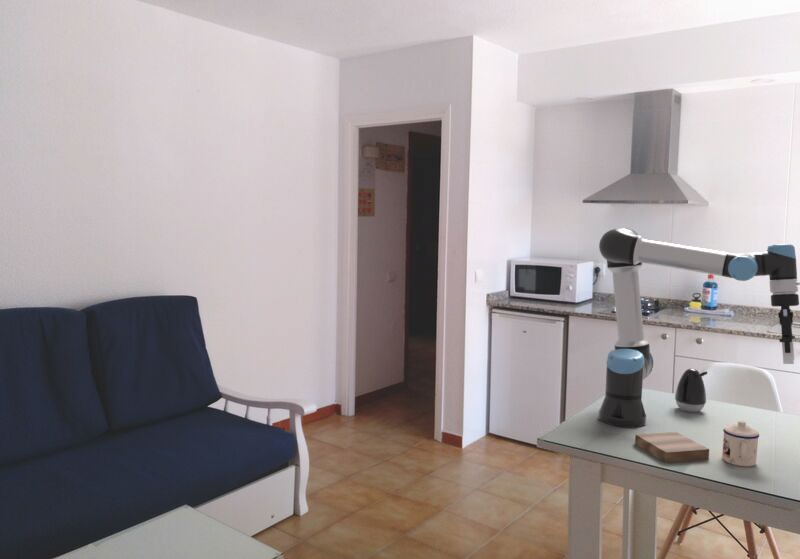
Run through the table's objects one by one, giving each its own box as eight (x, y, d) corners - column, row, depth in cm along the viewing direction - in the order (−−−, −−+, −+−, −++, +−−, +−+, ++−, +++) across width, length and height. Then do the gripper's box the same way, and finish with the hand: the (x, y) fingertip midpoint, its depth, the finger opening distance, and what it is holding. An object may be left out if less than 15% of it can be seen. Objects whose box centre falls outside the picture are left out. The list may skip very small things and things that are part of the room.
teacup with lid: (719, 453, 194) (722, 414, 193) (754, 458, 191) (757, 418, 190) (724, 468, 183) (727, 427, 181) (761, 473, 180) (764, 431, 178)
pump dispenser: (711, 415, 231) (714, 372, 229) (681, 414, 231) (684, 371, 229) (698, 406, 241) (701, 365, 239) (669, 405, 241) (672, 365, 240)
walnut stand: (634, 444, 200) (635, 434, 200) (675, 441, 203) (675, 431, 203) (665, 462, 186) (666, 452, 185) (708, 459, 189) (709, 449, 189)
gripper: (798, 293, 194) (803, 365, 193) (798, 292, 215) (803, 358, 214) (768, 294, 197) (773, 365, 197) (772, 294, 219) (776, 358, 218)
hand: (789, 361), depth 205 cm, fingers open, 13 cm apart
